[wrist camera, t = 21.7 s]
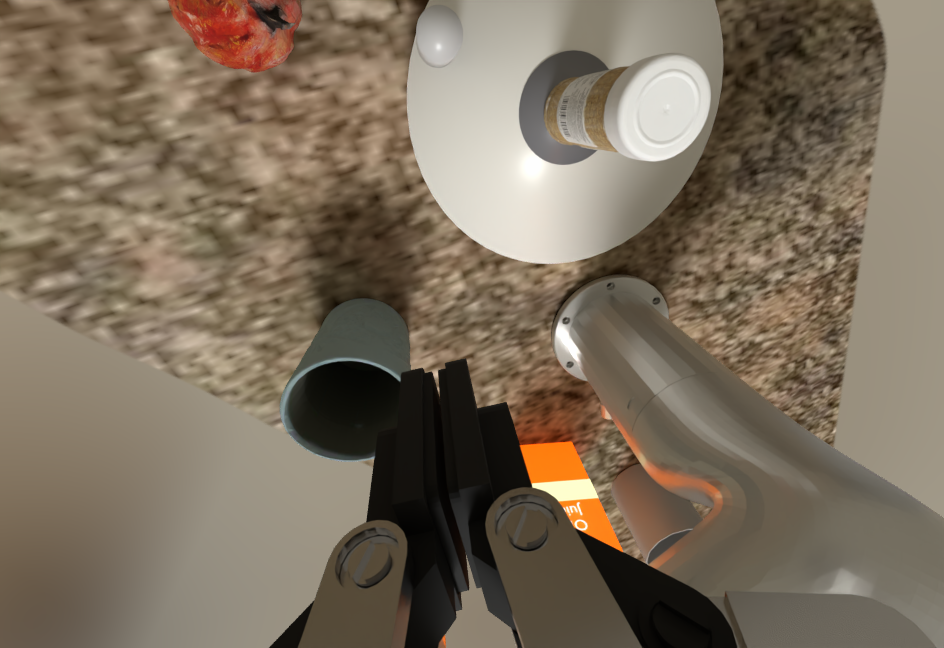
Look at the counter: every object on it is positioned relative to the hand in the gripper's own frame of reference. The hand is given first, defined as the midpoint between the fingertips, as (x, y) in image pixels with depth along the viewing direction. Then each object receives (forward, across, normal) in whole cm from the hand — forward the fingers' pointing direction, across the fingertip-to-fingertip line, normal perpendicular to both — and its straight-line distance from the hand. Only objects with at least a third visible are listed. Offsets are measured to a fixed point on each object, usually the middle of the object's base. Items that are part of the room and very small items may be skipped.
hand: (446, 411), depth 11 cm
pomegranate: (+29, +9, -15) cm, 34 cm away
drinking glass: (+29, +9, +12) cm, 33 cm away
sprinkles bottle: (+25, -12, -5) cm, 28 cm away
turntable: (+29, -12, -5) cm, 32 cm away
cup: (+29, -20, +43) cm, 56 cm away
